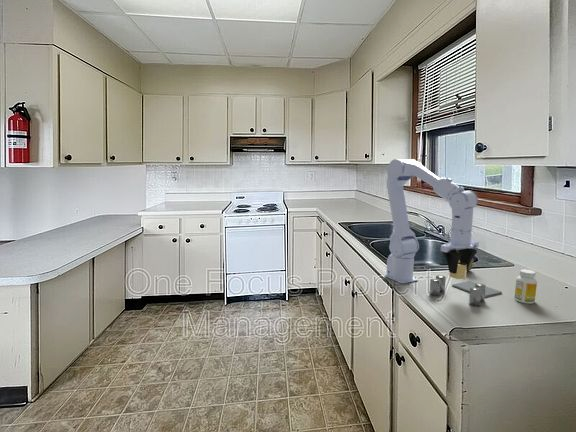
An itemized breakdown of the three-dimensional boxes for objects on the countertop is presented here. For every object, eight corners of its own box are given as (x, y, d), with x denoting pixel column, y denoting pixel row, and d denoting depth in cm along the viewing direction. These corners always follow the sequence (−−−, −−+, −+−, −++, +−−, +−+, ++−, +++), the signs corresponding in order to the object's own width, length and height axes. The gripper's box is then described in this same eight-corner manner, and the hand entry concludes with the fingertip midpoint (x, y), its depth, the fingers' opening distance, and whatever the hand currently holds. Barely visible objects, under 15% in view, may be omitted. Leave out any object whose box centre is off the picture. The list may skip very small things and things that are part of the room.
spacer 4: (471, 299, 112) (472, 284, 111) (477, 297, 113) (479, 282, 113) (480, 302, 109) (481, 287, 109) (486, 301, 111) (487, 285, 110)
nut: (446, 275, 114) (447, 261, 113) (455, 273, 116) (456, 260, 115) (459, 279, 109) (460, 265, 109) (469, 278, 111) (470, 264, 110)
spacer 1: (427, 294, 116) (428, 279, 116) (434, 292, 118) (435, 278, 117) (434, 297, 114) (435, 282, 113) (441, 295, 115) (442, 280, 114)
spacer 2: (433, 290, 120) (434, 275, 119) (439, 288, 121) (440, 274, 121) (440, 293, 117) (441, 278, 117) (446, 291, 119) (447, 277, 118)
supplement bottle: (512, 300, 111) (515, 271, 109) (516, 296, 115) (519, 267, 113) (533, 305, 107) (536, 275, 106) (536, 300, 111) (539, 271, 109)
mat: (452, 286, 124) (452, 284, 124) (469, 282, 128) (469, 280, 127) (483, 297, 113) (483, 296, 113) (501, 293, 117) (502, 291, 117)
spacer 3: (466, 303, 108) (467, 288, 108) (473, 302, 110) (474, 286, 109) (475, 307, 106) (476, 291, 105) (482, 305, 107) (483, 289, 106)
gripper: (455, 233, 104) (452, 278, 106) (488, 230, 110) (485, 272, 112) (436, 229, 110) (433, 271, 112) (468, 226, 116) (465, 266, 118)
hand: (458, 271), depth 112 cm, fingers closed on nut, 4 cm apart
